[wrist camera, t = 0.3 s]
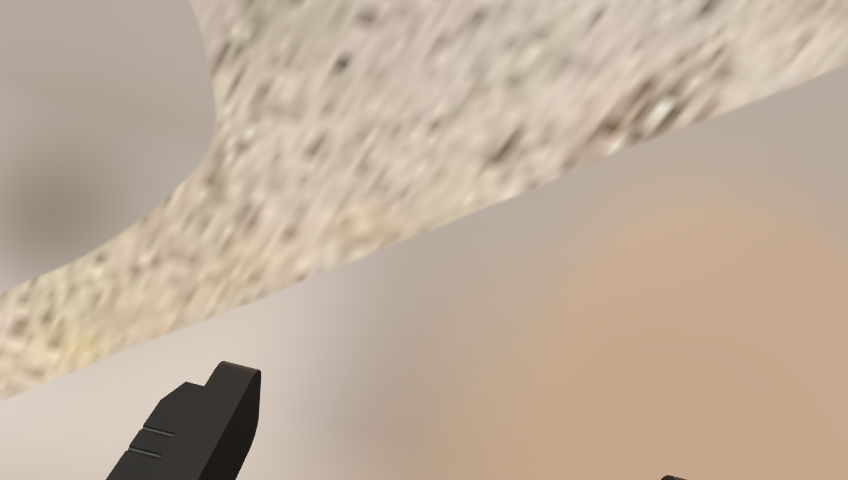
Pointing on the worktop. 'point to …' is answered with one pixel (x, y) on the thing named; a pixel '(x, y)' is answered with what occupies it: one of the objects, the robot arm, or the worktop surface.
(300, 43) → the worktop surface
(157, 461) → the robot arm
